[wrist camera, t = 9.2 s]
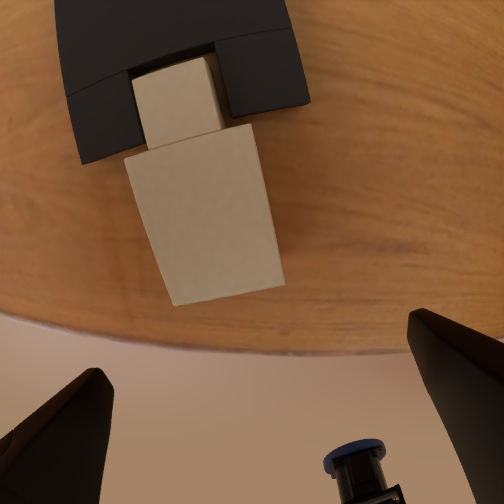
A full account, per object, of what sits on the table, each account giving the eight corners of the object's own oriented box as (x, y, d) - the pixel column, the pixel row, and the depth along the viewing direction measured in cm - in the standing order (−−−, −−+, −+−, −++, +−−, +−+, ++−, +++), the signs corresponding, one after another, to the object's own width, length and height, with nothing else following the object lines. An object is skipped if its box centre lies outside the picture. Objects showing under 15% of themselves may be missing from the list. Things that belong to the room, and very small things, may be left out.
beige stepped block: (279, 259, 18) (285, 285, 15) (183, 278, 19) (173, 307, 16) (235, 63, 14) (233, 49, 11) (129, 95, 14) (106, 90, 11)
